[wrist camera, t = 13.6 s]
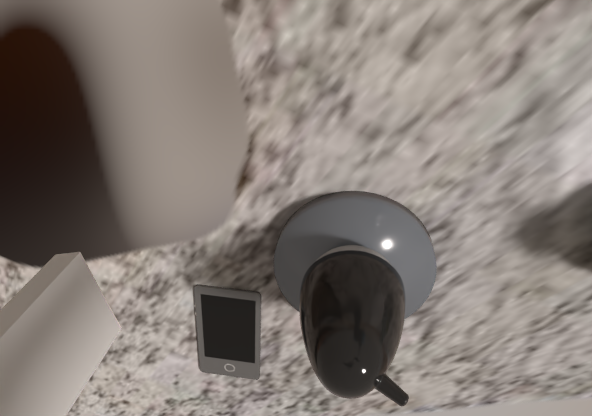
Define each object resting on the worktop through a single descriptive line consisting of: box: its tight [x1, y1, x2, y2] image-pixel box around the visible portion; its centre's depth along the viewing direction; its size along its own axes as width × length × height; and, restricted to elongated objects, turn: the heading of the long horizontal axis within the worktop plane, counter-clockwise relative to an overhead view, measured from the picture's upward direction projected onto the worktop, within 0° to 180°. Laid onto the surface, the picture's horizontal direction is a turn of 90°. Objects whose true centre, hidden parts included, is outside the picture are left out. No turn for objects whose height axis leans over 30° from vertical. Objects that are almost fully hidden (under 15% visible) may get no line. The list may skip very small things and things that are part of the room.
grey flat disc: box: [274, 191, 436, 319], centre depth 50 cm, size 17×17×2 cm
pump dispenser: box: [299, 245, 409, 406], centre depth 42 cm, size 10×10×15 cm
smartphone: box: [194, 284, 261, 380], centre depth 59 cm, size 15×8×1 cm, turn 177°
